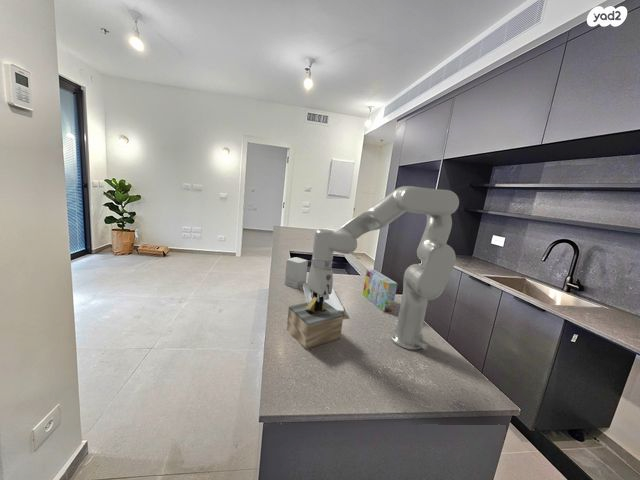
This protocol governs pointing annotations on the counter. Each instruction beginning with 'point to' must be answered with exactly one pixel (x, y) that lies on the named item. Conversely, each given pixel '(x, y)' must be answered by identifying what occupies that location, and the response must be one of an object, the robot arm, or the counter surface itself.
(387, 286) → the snack box
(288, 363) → the counter surface
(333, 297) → the tray
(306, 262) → the supplement box
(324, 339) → the box
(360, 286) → the counter surface
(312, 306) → the block
